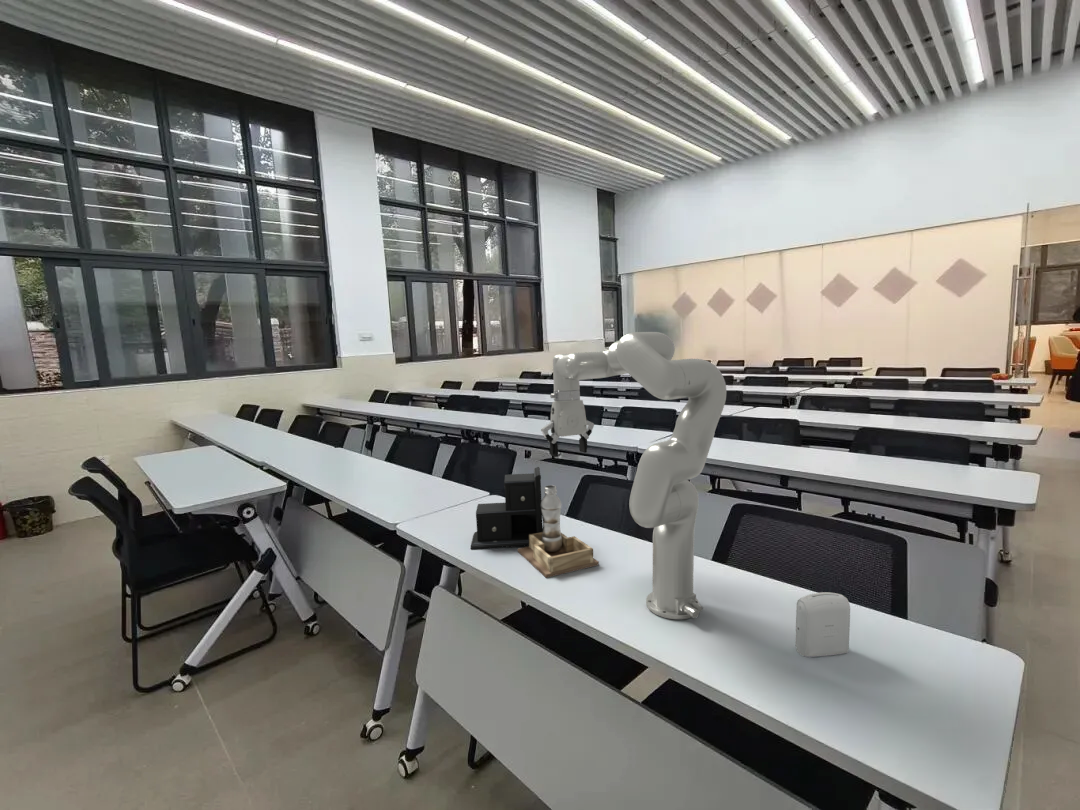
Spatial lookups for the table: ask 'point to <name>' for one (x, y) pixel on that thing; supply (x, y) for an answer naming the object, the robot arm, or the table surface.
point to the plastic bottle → (551, 520)
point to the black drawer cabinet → (511, 514)
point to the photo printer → (822, 624)
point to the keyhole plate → (558, 556)
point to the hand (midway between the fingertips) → (569, 454)
